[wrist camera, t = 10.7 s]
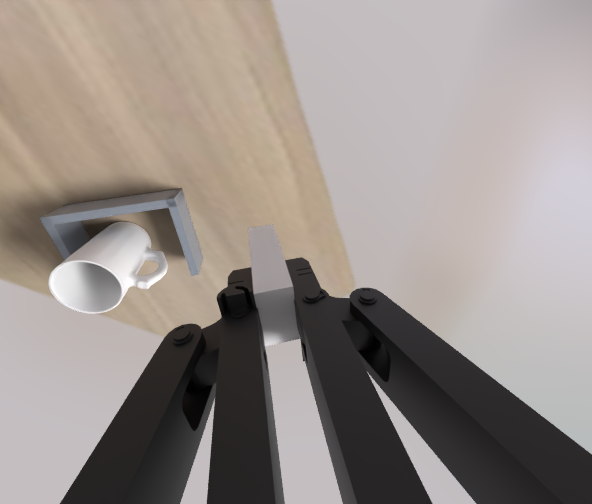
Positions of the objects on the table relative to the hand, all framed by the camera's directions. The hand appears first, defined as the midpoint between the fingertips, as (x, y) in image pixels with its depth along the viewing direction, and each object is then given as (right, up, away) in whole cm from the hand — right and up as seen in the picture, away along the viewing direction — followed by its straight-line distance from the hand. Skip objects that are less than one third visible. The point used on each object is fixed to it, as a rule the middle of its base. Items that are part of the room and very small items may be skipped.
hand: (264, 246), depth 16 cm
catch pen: (-21, +2, +22) cm, 30 cm away
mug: (-21, +1, +23) cm, 31 cm away
